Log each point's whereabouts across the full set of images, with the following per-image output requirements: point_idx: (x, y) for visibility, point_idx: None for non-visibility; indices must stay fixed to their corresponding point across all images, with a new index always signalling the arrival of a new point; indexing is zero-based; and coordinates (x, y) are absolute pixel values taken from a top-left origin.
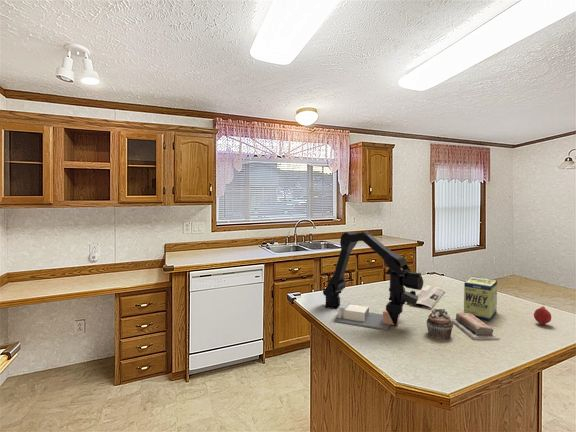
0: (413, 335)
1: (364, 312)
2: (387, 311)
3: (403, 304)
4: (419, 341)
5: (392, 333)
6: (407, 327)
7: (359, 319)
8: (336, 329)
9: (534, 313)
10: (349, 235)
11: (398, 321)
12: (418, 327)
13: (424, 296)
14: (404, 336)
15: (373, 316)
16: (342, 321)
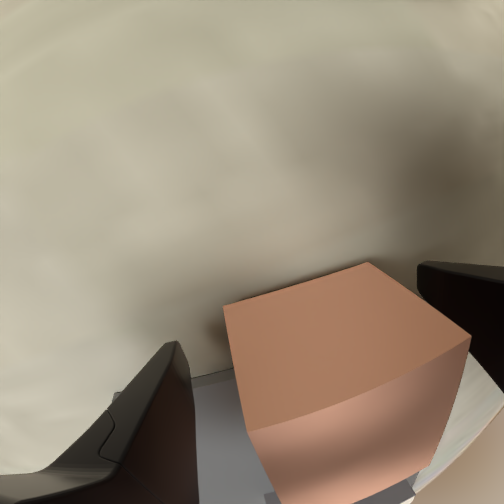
0: (447, 67)
1: (409, 499)
2: (408, 459)
3: (66, 494)
4: (487, 32)
5: (484, 234)
6: (310, 153)
7: None
8: (472, 435)
9: None
10: None
11: (298, 294)
12: (223, 41)
13: None
14: (490, 136)
15: (260, 479)
16: (412, 479)
